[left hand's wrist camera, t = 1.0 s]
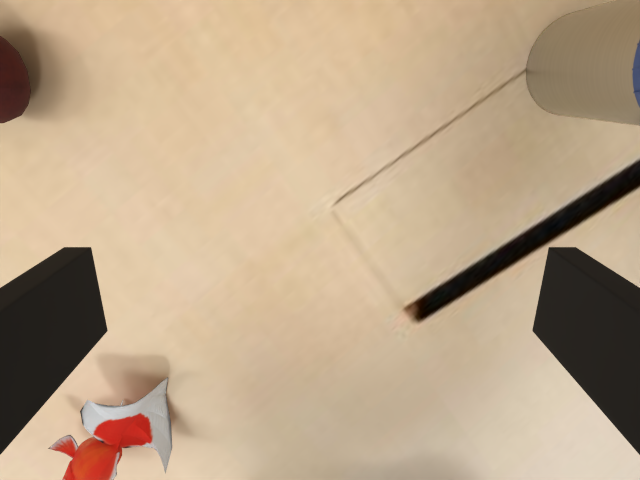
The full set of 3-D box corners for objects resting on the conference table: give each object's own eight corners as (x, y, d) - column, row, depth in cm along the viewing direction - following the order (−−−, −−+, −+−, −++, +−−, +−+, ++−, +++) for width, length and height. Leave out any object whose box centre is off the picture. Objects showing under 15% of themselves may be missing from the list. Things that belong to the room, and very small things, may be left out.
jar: (624, 102, 37) (811, 113, 23) (529, 125, 38) (653, 149, 24) (624, -1, 35) (836, -61, 20) (522, 25, 35) (658, -15, 21)
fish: (4, 430, 44) (-1, 514, 36) (136, 331, 47) (156, 388, 40) (79, 470, 50) (88, 549, 42) (190, 380, 54) (216, 437, 46)
